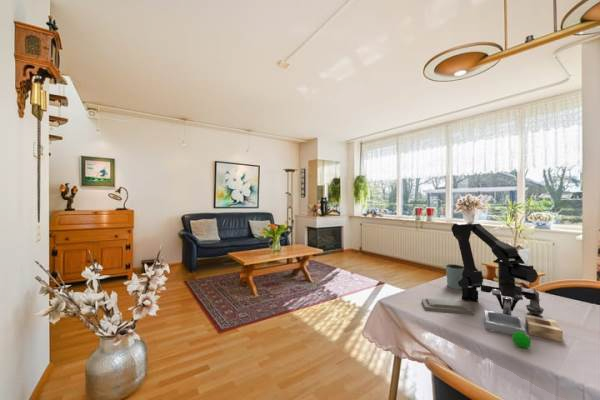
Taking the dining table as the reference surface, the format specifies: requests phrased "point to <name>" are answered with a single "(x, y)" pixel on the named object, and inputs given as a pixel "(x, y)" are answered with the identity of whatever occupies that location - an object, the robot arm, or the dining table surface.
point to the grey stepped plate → (446, 306)
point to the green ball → (521, 339)
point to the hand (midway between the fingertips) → (506, 309)
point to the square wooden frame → (543, 327)
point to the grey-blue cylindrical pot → (454, 275)
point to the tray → (503, 323)
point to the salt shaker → (535, 307)
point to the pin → (506, 305)
